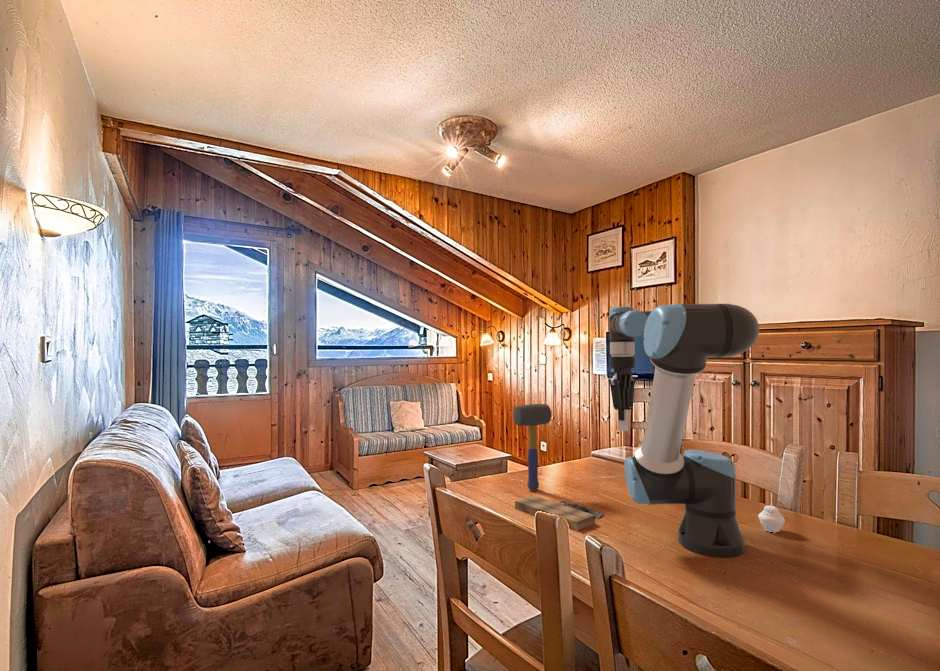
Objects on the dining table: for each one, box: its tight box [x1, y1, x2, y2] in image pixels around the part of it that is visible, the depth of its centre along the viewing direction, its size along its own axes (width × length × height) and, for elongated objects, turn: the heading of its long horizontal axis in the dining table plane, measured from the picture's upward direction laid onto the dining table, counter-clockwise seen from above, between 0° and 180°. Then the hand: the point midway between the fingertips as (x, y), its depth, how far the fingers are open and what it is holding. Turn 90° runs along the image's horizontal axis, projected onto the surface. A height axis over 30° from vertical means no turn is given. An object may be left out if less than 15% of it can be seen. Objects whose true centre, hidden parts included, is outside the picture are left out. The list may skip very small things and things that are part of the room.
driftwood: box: [560, 500, 605, 520], centre depth 153 cm, size 21×7×2 cm, turn 39°
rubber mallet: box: [512, 403, 553, 492], centre depth 173 cm, size 12×8×30 cm, turn 111°
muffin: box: [758, 505, 786, 533], centre depth 134 cm, size 6×6×7 cm
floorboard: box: [514, 495, 596, 532], centre depth 147 cm, size 24×8×2 cm, turn 40°
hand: (623, 430), depth 156 cm, fingers closed
